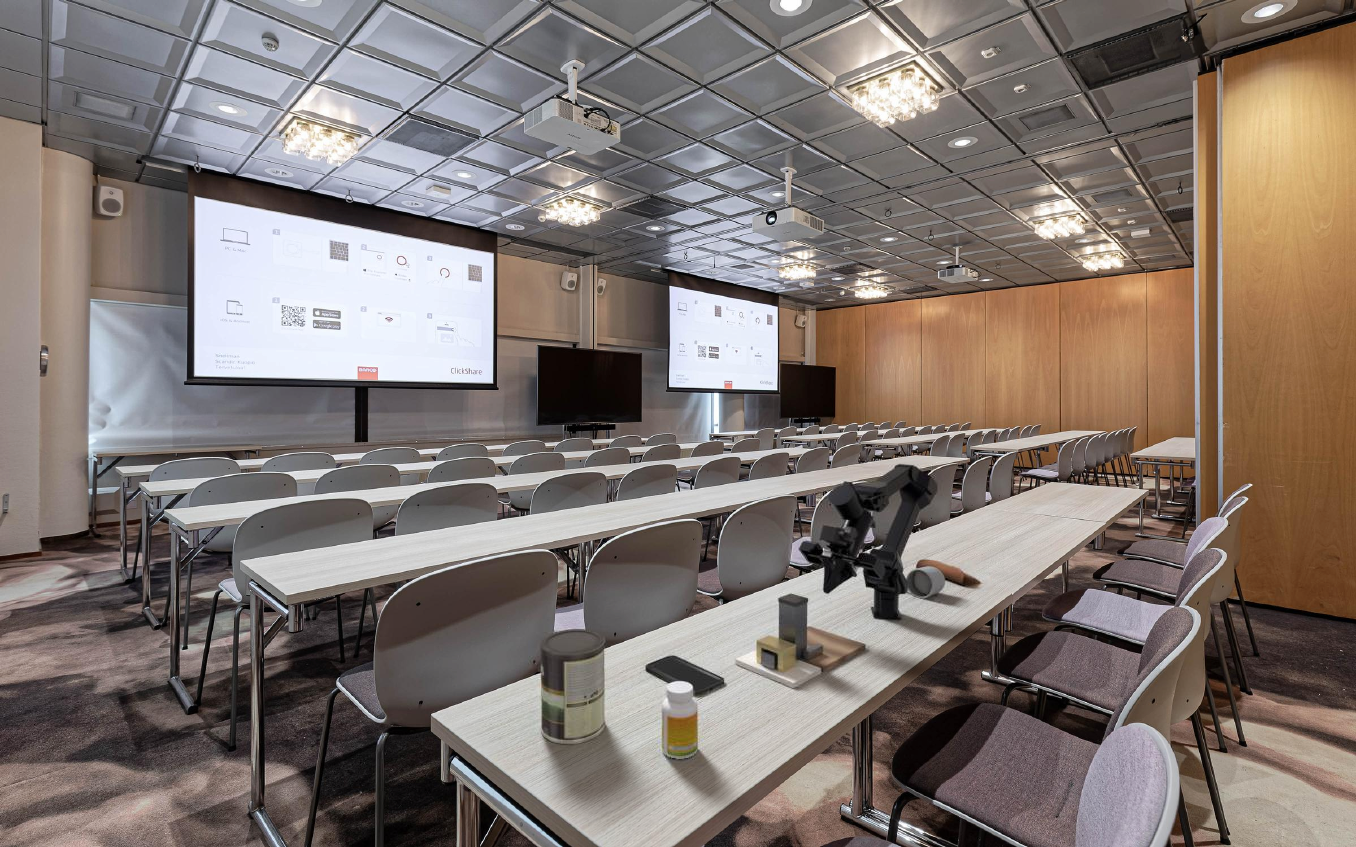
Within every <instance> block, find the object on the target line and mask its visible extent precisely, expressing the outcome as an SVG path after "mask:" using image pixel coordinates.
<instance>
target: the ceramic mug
mask: <svg viewBox="0 0 1356 847" xmlns="http://www.w3.org/2000/svg"><path fill="white" fill-rule="evenodd" d="M905 578H906V579H907V581H908V589H907V591H908V592H909V593H910V594H911V595H912V596H913V597H916V598H918V599H927V598H929V597H931V596H934V595H936V594H938V593H940V592H941V591H942V590H943V589H944V588H945V585H946V578H944V575H943V574H942V572H941V571H940V570H939V569H937V568H935V567H930V566H927V567H922V568H917V569H916V568H913V569H911V570H910V571H909V572H908V573H907V575H906V576H905Z"/></svg>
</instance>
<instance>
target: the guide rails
mask: <svg viewBox="0 0 1356 847" xmlns="http://www.w3.org/2000/svg"><path fill="white" fill-rule="evenodd" d="M822 654H823V645H821V644H816V645H814V646H812V647H810V648H808V649H806V650H804V660H807V661H810V660H812V659H814V658H816V657H818V656H820V655H822Z"/></svg>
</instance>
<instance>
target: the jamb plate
mask: <svg viewBox="0 0 1356 847" xmlns="http://www.w3.org/2000/svg"><path fill="white" fill-rule="evenodd" d="M734 663H735V665H736V666H739V667H741V668H744V669H746V670H748V671H751V672H754V673H756V674H759V675H761V676H763V677H765V678H767V679H771V680H773V681H775V682H778V683H779V684H782V685H784V686H787V687H789V688H792V689H795V688H797V687H799V686H800V685H801V686H802V684H805V683H806V682H808V681H810V680H811V679H813V678H815V677H817V676H819V675H820V674H822V672H821V668H819V667H816V666H814V665H811V664H808V663H806V662H803V661H800V660H796V666H795V667H793V668H792V669H790V670H788V671H786V672H784V673H782V672H780V671H778V668H776V669H772V668H769V667H767V666H764V665H762V664H760V663H757V662H756V649H755V650H752V651H750V652H748V653H746V654H743V655H741V656H740V657H737V658H735V662H734Z"/></svg>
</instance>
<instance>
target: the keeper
mask: <svg viewBox="0 0 1356 847" xmlns="http://www.w3.org/2000/svg"><path fill="white" fill-rule="evenodd" d="M755 647H756V649H755V650H756V662H757V663H760V664H762V651H764V650H769V651H772V652H775V653H777V654H778V671H780V672H782V673H784V672H786V671H788V670H790V669H792V668H793V667H795V666H796V644H793V643H790V642H787V641H784V640H782V639H779V637H775V636H774V635H770V634H769V635H766V636H764V637H761V638H759V639H757V640H756V646H755Z"/></svg>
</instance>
